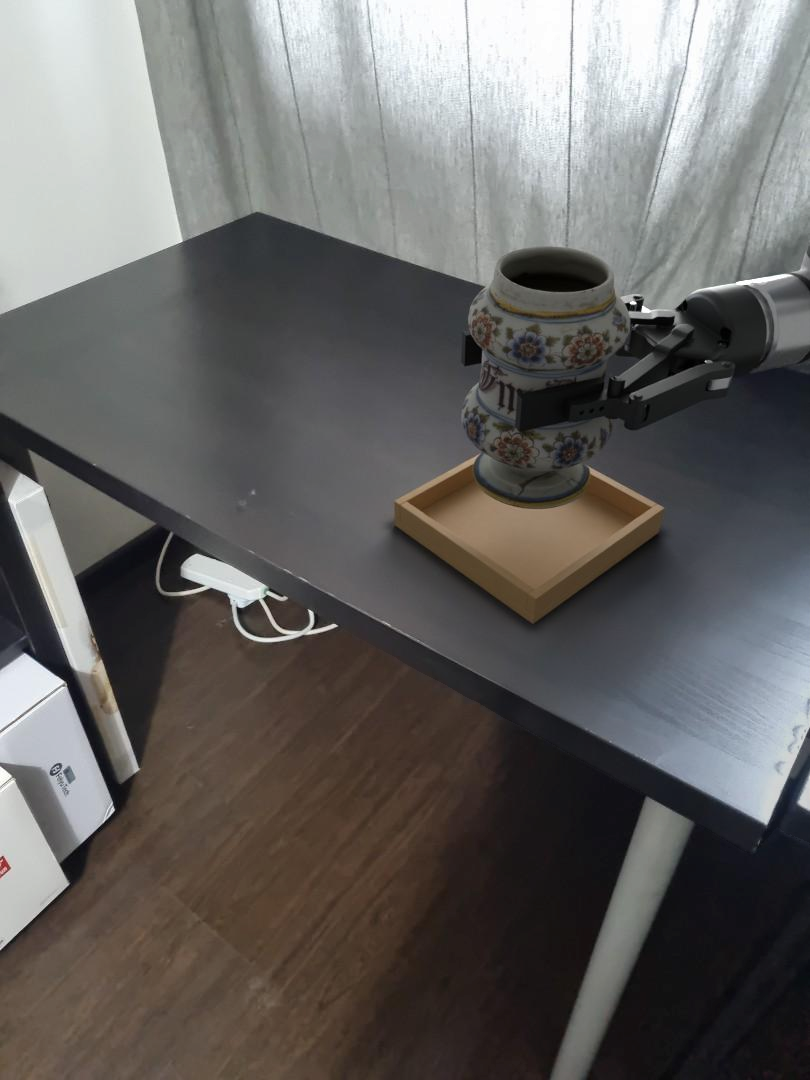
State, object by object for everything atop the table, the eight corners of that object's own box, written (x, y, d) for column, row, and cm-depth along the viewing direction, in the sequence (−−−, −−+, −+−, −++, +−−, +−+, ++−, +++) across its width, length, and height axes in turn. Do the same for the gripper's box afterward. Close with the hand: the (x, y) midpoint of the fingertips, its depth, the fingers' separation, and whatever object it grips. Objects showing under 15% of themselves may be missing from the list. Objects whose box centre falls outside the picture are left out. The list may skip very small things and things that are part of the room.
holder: (659, 532, 73) (664, 507, 71) (532, 624, 65) (535, 599, 63) (519, 454, 83) (522, 430, 81) (394, 525, 74) (393, 500, 73)
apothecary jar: (632, 497, 67) (675, 285, 55) (499, 534, 64) (515, 318, 52) (557, 422, 76) (581, 225, 64) (437, 452, 73) (439, 250, 61)
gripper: (819, 438, 62) (551, 503, 57) (656, 316, 78) (436, 357, 73) (852, 348, 57) (563, 409, 52) (672, 237, 73) (436, 275, 68)
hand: (489, 379), depth 62 cm, fingers closed on apothecary jar, 9 cm apart
